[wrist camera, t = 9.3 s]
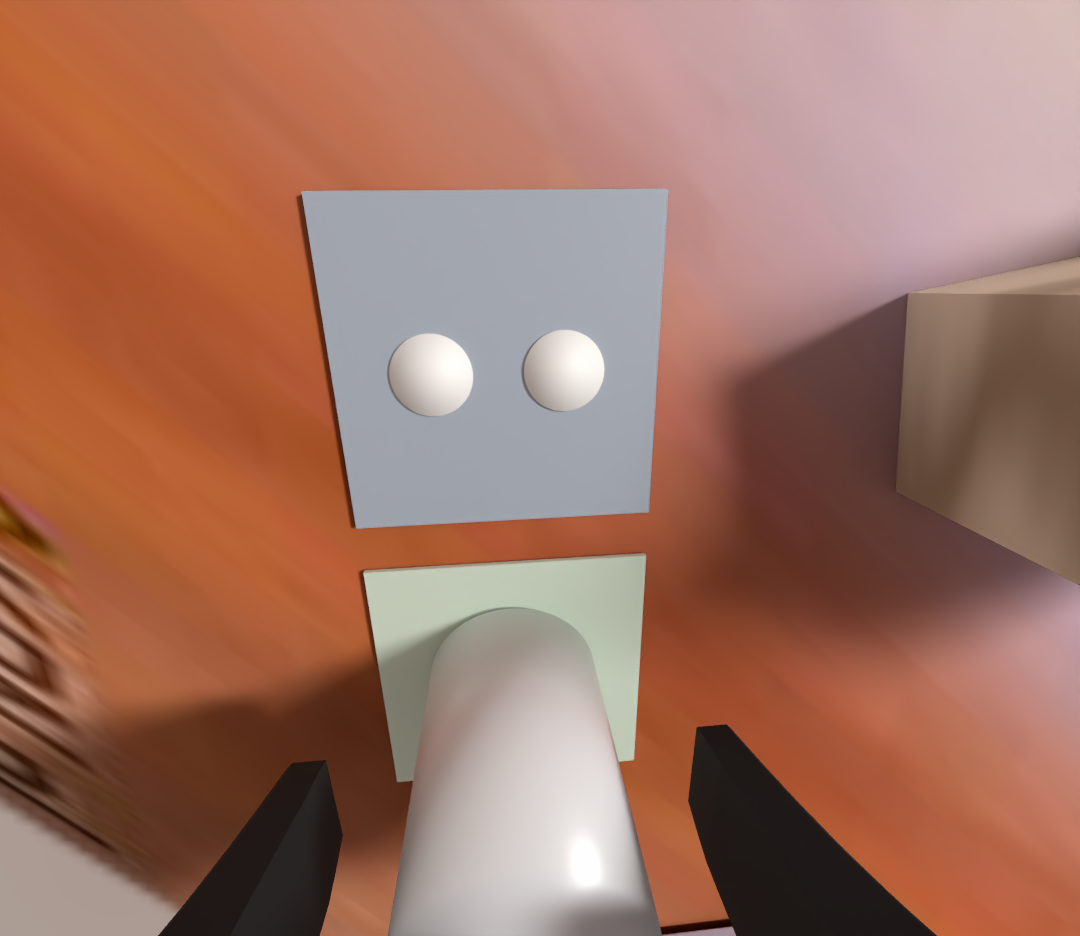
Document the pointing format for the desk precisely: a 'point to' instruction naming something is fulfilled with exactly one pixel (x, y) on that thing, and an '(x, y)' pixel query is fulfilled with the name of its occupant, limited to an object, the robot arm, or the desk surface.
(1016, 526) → the birch block
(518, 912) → the white capsule cylinder
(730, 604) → the desk surface
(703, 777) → the robot arm
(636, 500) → the pad two
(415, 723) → the pad one
